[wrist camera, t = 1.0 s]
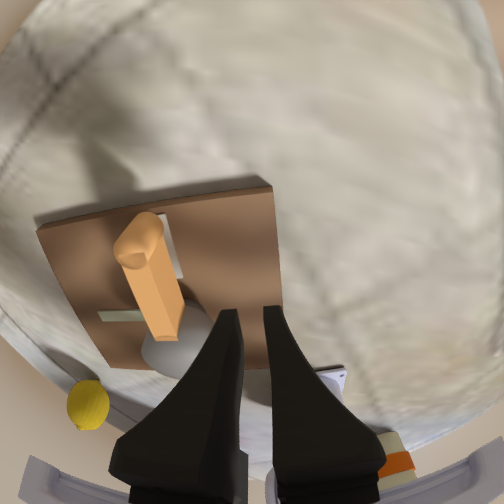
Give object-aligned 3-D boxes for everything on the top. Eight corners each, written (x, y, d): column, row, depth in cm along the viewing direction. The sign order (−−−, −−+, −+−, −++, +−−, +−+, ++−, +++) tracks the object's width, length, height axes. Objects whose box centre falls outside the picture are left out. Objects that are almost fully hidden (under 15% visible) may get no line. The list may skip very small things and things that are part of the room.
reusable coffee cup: (334, 452, 45) (342, 516, 32) (380, 426, 39) (396, 500, 26) (374, 452, 48) (384, 507, 35) (417, 427, 42) (434, 488, 29)
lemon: (103, 369, 29) (83, 422, 23) (122, 393, 32) (108, 443, 25) (71, 365, 30) (51, 414, 23) (92, 389, 33) (76, 435, 26)
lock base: (285, 356, 27) (287, 378, 24) (113, 359, 28) (106, 378, 26) (272, 186, 18) (274, 201, 16) (43, 224, 19) (25, 240, 17)
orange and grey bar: (222, 349, 22) (219, 379, 19) (163, 350, 22) (155, 379, 19) (184, 205, 16) (170, 229, 13) (108, 217, 16) (86, 242, 13)
